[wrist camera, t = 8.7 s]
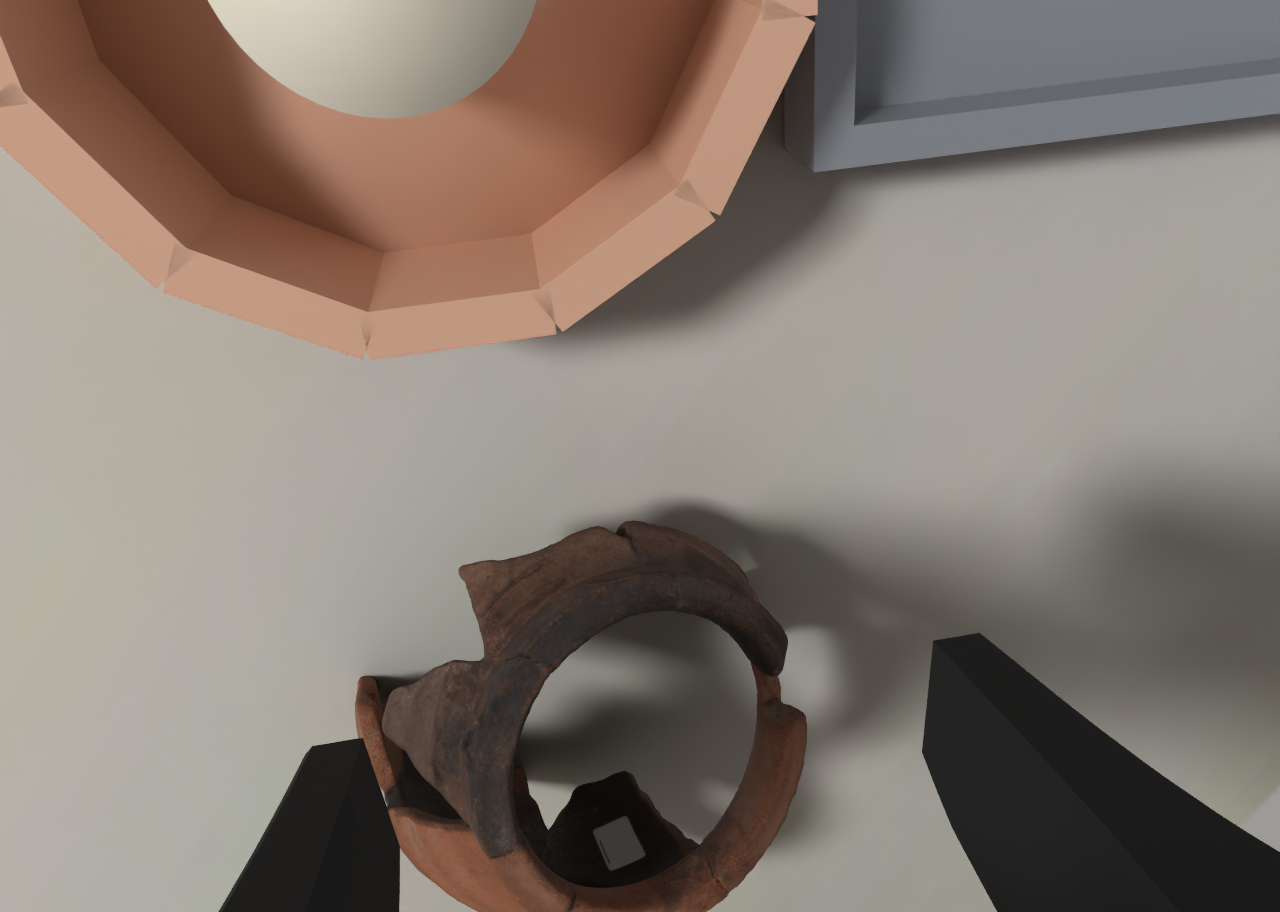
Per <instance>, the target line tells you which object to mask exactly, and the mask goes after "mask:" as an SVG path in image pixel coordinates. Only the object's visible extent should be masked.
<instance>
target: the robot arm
mask: <svg viewBox="0 0 1280 912" xmlns="http://www.w3.org/2000/svg"><path fill="white" fill-rule="evenodd" d="M922 753H923V756H924V758H925V761H926V763H927V766H928V769H929V771H930V774H931V776H932V779H933V782H934V784H935V787H936V789H937V792H938V794H939V797H940V799H941V802H942V804H943V807H944V809H945V811H946V814H947V816H948V819H949V821H950V824H951V826H952V828H953V830H954V832H955V834H956V836H957V838H958V840H959V841H960V843H961V845H962V847H963V849H964V851H965V853H966V855H967V857H968V858H969V860H970V862H971V864H972V866H973V868H974V870H975V871H976V873H977V875H978V877H979V879H980V881H981V883H982V884H983V886H984V888H985V890H986V892H987V894H988V895H989V897H990V899H991V901H992V903H993V905H994V906H995V908H996V910H997V912H1280V852H1279V851H1277V850H1275V849H1274V848H1272V847H1270V846H1269V845H1267V844H1265V843H1264V842H1262V841H1260V840H1259V839H1257V838H1255V837H1254V836H1252V835H1251V834H1249V833H1247V832H1246V831H1244V830H1243V829H1241V828H1240V827H1238V826H1236V825H1235V824H1233V823H1232V822H1230V821H1229V820H1227V819H1226V818H1224V817H1222V816H1221V815H1219V814H1218V813H1216V812H1215V811H1213V810H1212V809H1210V808H1209V807H1208V806H1206V805H1205V804H1203V803H1202V802H1200V801H1199V800H1197V799H1196V798H1194V797H1193V796H1191V795H1190V794H1189V793H1187V792H1186V791H1184V790H1183V789H1181V788H1180V787H1178V786H1177V785H1175V784H1174V783H1173V782H1171V781H1170V780H1168V779H1167V778H1165V777H1164V776H1162V775H1161V774H1160V773H1158V772H1157V771H1156V770H1154V769H1153V768H1151V767H1150V766H1149V765H1147V764H1146V763H1144V762H1143V761H1142V760H1140V759H1139V758H1138V757H1136V756H1135V755H1134V754H1132V753H1131V752H1130V751H1128V750H1127V749H1126V748H1124V747H1123V746H1122V745H1120V744H1119V743H1118V742H1116V741H1115V740H1114V739H1112V738H1111V737H1110V736H1109V735H1107V734H1106V733H1105V732H1103V731H1102V730H1101V729H1099V728H1098V727H1097V726H1095V725H1094V724H1093V723H1091V722H1090V721H1089V720H1088V719H1086V718H1085V717H1084V716H1082V715H1081V714H1080V713H1079V712H1077V711H1076V710H1075V709H1073V708H1072V707H1071V706H1070V705H1068V704H1067V703H1066V702H1065V701H1063V700H1062V699H1061V698H1060V697H1058V696H1057V695H1056V694H1055V693H1053V692H1052V691H1051V690H1050V689H1048V688H1047V687H1046V686H1045V685H1043V684H1042V683H1041V682H1040V681H1038V680H1037V679H1036V678H1035V677H1033V676H1032V675H1031V674H1030V673H1029V672H1027V671H1026V670H1025V669H1024V668H1022V667H1021V666H1020V665H1019V664H1017V663H1016V662H1015V661H1014V660H1012V659H1011V658H1010V657H1009V656H1008V655H1006V654H1005V653H1004V652H1003V651H1001V650H1000V649H999V648H998V647H996V646H995V645H994V644H993V643H991V642H990V641H989V640H987V639H986V638H985V637H984V636H982V635H981V634H980V633H976V634H971V635H965V636H959V637H953V638H947V639H941V640H935V641H933V650H932V660H931V669H930V679H929V689H928V699H927V709H926V718H925V728H924V738H923V748H922ZM399 895H400V845H399V842H398V839H397V836H396V833H395V830H394V827H393V824H392V821H391V818H390V815H389V813H388V810H387V807H386V804H385V801H384V798H383V795H382V792H381V789H380V786H379V783H378V780H377V777H376V774H375V772H374V769H373V766H372V763H371V760H370V757H369V754H368V751H367V748H366V745H365V742H364V739H363V738H358V739H353V740H347V741H341V742H335V743H329V744H323V745H317V746H312V747H311V748H310V750H309V751H308V752H307V753H306V754H305V756H304V758H303V760H302V762H301V764H300V766H299V768H298V770H297V772H296V774H295V776H294V778H293V780H292V782H291V783H290V785H289V787H288V789H287V791H286V793H285V795H284V797H283V799H282V801H281V803H280V804H279V806H278V808H277V810H276V812H275V814H274V816H273V818H272V819H271V821H270V823H269V825H268V827H267V829H266V830H265V832H264V834H263V836H262V838H261V839H260V841H259V843H258V845H257V847H256V849H255V850H254V852H253V854H252V856H251V857H250V859H249V861H248V863H247V864H246V866H245V868H244V869H243V871H242V873H241V875H240V876H239V878H238V880H237V881H236V883H235V885H234V886H233V888H232V890H231V892H230V893H229V895H228V897H227V898H226V900H225V902H224V904H223V905H222V907H221V909H220V910H219V912H399Z"/></svg>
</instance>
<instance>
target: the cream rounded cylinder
mask: <svg viewBox="0 0 1280 912" xmlns="http://www.w3.org/2000/svg"><path fill="white" fill-rule="evenodd" d="M208 2H209V4H210V5H211V7H212V9H213V10H214V12H215V13H216V15H217V17H218V18H219V20H220V21H221V23H222V25H223V26H224V27H225V29H226V30H227V31H228V32H229V34H230V35H231V36H232V37H233V39H234V40H235V41H236V43H237V44H238V45H239V46H240V47H241V48H242V49H243V50H244V52H245V53H246V54H247V55H248V56H249V57H250V58H251V59H252V60H253V61H254V62H255V63H256V64H257V65H258V66H260V67H261V68H262V69H263V70H265V71H266V72H267V73H268V74H269V75H271V76H272V77H273V78H274V79H276V80H277V81H278V82H280V83H281V84H283V85H284V86H286V87H288V88H289V89H291V90H292V91H294V92H295V93H297V94H299V95H301V96H303V97H305V98H307V99H309V100H311V101H313V102H315V103H317V104H319V105H322V106H325V107H328V108H331V109H333V110H336V111H339V112H343V113H347V114H352V115H357V116H361V117H371V118H383V119H386V118H406V117H411V116H417V115H422V114H427V113H430V112H433V111H436V110H439V109H442V108H445V107H447V106H449V105H451V104H453V103H455V102H457V101H459V100H461V99H463V98H465V97H466V96H468V95H469V94H471V93H472V92H474V91H475V90H477V89H478V88H480V87H481V86H482V85H483V84H484V83H485V82H487V81H488V80H489V79H490V78H491V77H492V76H493V75H494V74H495V73H496V72H497V71H498V70H499V69H500V68H501V66H502V65H503V64H504V63H505V62H506V60H507V59H508V58H509V57H510V56H511V54H512V52H513V51H514V49H515V48H516V46H517V44H518V43H519V41H520V39H521V38H522V36H523V34H524V32H525V30H526V27H527V25H528V23H529V21H530V18H531V16H532V13H533V10H534V7H535V4H536V0H208Z"/></svg>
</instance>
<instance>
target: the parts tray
mask: <svg viewBox="0 0 1280 912" xmlns="http://www.w3.org/2000/svg"><path fill="white" fill-rule="evenodd" d="M804 17H806V18H808V19H810V20H811V21H813V22H815V25H814V27H813V29H812V31H811V33H810V35H809V37H808V39H807V41H806V43H805V45H804V47H803V49H802V51H801V53H800V55H799V57H798V59H797V61H796V63H795V65H794V67H793V69H792V72H791V74H790V76H789V78H788V80H787V82H786V84H785V86H784V90H785V150H787V151H788V152H789V153H790V154H791V155H793V156H794V157H795V158H796V159H798V160H799V161H800V162H801V163H802V164H804V165H805V166H806V167H807V168H809V169H810V170H811V171H812V172H813V173H814V172H822V171H830V170H838V169H846V168H853V167H861V166H869V165H877V164H885V163H893V162H901V161H909V160H917V159H924V158H932V157H940V156H948V155H956V154H964V153H972V152H980V151H987V150H995V149H1003V148H1011V147H1019V146H1027V145H1035V144H1043V143H1051V142H1058V141H1066V140H1074V139H1082V138H1090V137H1098V136H1106V135H1114V134H1122V133H1129V132H1137V131H1145V130H1153V129H1161V128H1169V127H1177V126H1185V125H1192V124H1200V123H1208V122H1216V121H1224V120H1232V119H1240V118H1248V117H1256V116H1263V115H1271V114H1279V113H1280V0H818V15H812V16H804Z"/></svg>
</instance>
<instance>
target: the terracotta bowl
mask: <svg viewBox="0 0 1280 912" xmlns="http://www.w3.org/2000/svg"><path fill="white" fill-rule="evenodd" d="M812 15H818V0H536V4H535V7H534V10H533V13H532V16H531V18H530V21H529V23H528V25H527V27H526V30H525V32H524V34H523V36H522V38H521V39H520V41H519V43H518V44H517V46H516V48H515V49H514V51H513V52H512V54H511V56H510V57H509V58H508V59H507V60H506V62H505V63H504V64H503V65H502V66H501V68H500V69H499V70H498V71H497V72H496V73H495V74H494V75H493V76H492V77H491V78H490V79H489V80H488V81H487V82H485V83H484V84H483V85H482V86H481V87H480V88H478V89H477V90H475V91H474V92H472V93H471V94H469V95H468V96H466V97H465V98H463V99H461V100H459V101H457V102H455V103H453V104H451V105H449V106H447V107H445V108H442V109H439V110H436V111H433V112H430V113H427V114H422V115H417V116H411V117H406V118H386V119H383V118H371V117H361V116H357V115H352V114H347V113H343V112H339V111H336V110H333V109H331V108H328V107H325V106H322V105H319V104H317V103H315V102H313V101H311V100H309V99H307V98H305V97H303V96H301V95H299V94H297V93H295V92H294V91H292V90H291V89H289V88H288V87H286V86H284V85H283V84H281V83H280V82H278V81H277V80H276V79H274V78H273V77H272V76H271V75H269V74H268V73H267V72H266V71H265V70H263V69H262V68H261V67H260V66H258V65H257V64H256V63H255V62H254V61H253V60H252V59H251V58H250V57H249V56H248V55H247V54H246V53H245V52H244V50H243V49H242V48H241V47H240V46H239V45H238V44H237V43H236V41H235V40H234V39H233V37H232V36H231V35H230V34H229V32H228V31H227V30H226V29H225V27H224V26H223V25H222V23H221V21H220V20H219V18H218V17H217V15H216V13H215V12H214V10H213V9H212V7H211V5H210V4H209V2H208V0H0V146H1V147H2V148H3V149H4V150H5V151H6V152H7V153H9V154H10V155H11V156H12V157H13V158H14V159H15V160H16V161H17V162H18V163H19V164H21V165H22V166H23V167H24V168H25V169H26V170H27V171H28V172H29V173H30V174H31V175H33V176H34V177H35V178H36V179H37V180H38V181H39V182H40V183H41V184H42V185H43V186H45V187H46V188H47V189H48V190H49V191H50V192H51V193H52V194H53V195H54V196H55V197H57V198H58V199H59V200H60V201H61V202H62V203H63V204H64V205H65V206H66V207H67V208H69V209H70V210H71V211H72V212H73V213H74V214H75V215H76V216H77V217H78V218H79V219H81V220H82V221H83V222H84V223H85V224H86V225H87V226H88V227H89V228H90V229H91V230H93V231H94V232H95V233H96V234H97V235H98V236H99V237H100V238H101V239H102V240H103V241H105V242H106V243H107V244H108V245H109V246H110V247H111V248H112V249H113V250H114V251H115V252H117V253H118V254H119V255H120V256H121V257H122V258H123V259H124V260H125V261H126V262H127V263H129V264H130V265H131V266H132V267H133V268H134V269H135V270H136V271H137V272H138V273H139V274H141V275H142V276H143V277H144V278H145V279H146V280H147V281H148V282H149V283H150V284H151V285H153V286H154V287H155V288H157V287H158V286H160V285H161V284H162V283H163V282H164V281H165V285H164V289H163V293H165V294H168V295H171V296H174V297H177V298H180V299H183V300H186V301H189V302H192V303H195V304H198V305H201V306H204V307H207V308H210V309H213V310H216V311H219V312H222V313H225V314H228V315H231V316H234V317H237V318H240V319H243V320H246V321H249V322H252V323H255V324H258V325H261V326H264V327H267V328H270V329H273V330H276V331H279V332H282V333H285V334H288V335H291V336H294V337H297V338H300V339H303V340H306V341H309V342H312V343H315V344H318V345H321V346H324V347H327V348H330V349H333V350H336V351H339V352H342V353H345V354H348V355H351V356H354V357H357V358H360V359H363V358H364V355H365V352H366V350H367V351H368V355H369V359H370V360H374V359H382V358H389V357H396V356H403V355H411V354H418V353H425V352H432V351H440V350H447V349H454V348H461V347H469V346H476V345H483V344H490V343H498V342H505V341H512V340H519V339H527V338H534V337H541V336H548V335H556V327H555V324H556V325H557V326H558V327H559V328H560V330H561V331H562V332H563V331H565V330H566V329H567V328H569V327H570V326H572V325H573V324H574V323H576V322H577V321H578V320H580V319H581V318H583V317H584V316H585V315H587V314H588V313H589V312H591V311H592V310H594V309H595V308H596V307H598V306H599V305H600V304H602V303H603V302H605V301H606V300H607V299H609V298H610V297H611V296H613V295H614V294H616V293H617V292H618V291H620V290H621V289H622V288H624V287H625V286H627V285H628V284H629V283H631V282H632V281H633V280H635V279H636V278H638V277H639V276H640V275H642V274H643V273H644V272H646V271H647V270H649V269H650V268H651V267H653V266H654V265H655V264H657V263H658V262H660V261H661V260H662V259H664V258H665V257H666V256H668V255H669V254H671V253H672V252H673V251H675V250H676V249H677V248H679V247H680V246H682V245H683V244H684V243H686V242H687V241H688V240H690V239H691V238H693V237H694V236H695V235H697V234H698V233H699V232H701V231H702V230H704V229H705V228H706V227H708V226H709V225H710V224H712V223H713V222H715V219H714V218H713V216H712V215H711V213H710V212H709V211H711V212H713V213H716V214H718V215H721V213H722V211H723V209H724V207H725V205H726V203H727V201H728V199H729V197H730V195H731V192H732V190H733V188H734V186H735V184H736V182H737V180H738V178H739V176H740V174H741V172H742V170H743V168H744V166H745V164H746V162H747V160H748V158H749V156H750V154H751V152H752V150H753V148H754V146H755V144H756V142H757V140H758V138H759V136H760V134H761V132H762V130H763V128H764V126H765V124H766V122H767V120H768V118H769V116H770V114H771V112H772V110H773V108H774V106H775V104H776V102H777V100H778V98H779V96H780V94H781V92H782V90H783V88H784V86H785V84H786V82H787V80H788V78H789V76H790V74H791V72H792V69H793V67H794V65H795V63H796V61H797V59H798V57H799V55H800V53H801V51H802V49H803V47H804V45H805V43H806V41H807V39H808V37H809V35H810V33H811V31H812V29H813V27H814V25H815V22H813V21H811V20H810V19H808V18H806V17H804V16H812Z"/></svg>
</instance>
